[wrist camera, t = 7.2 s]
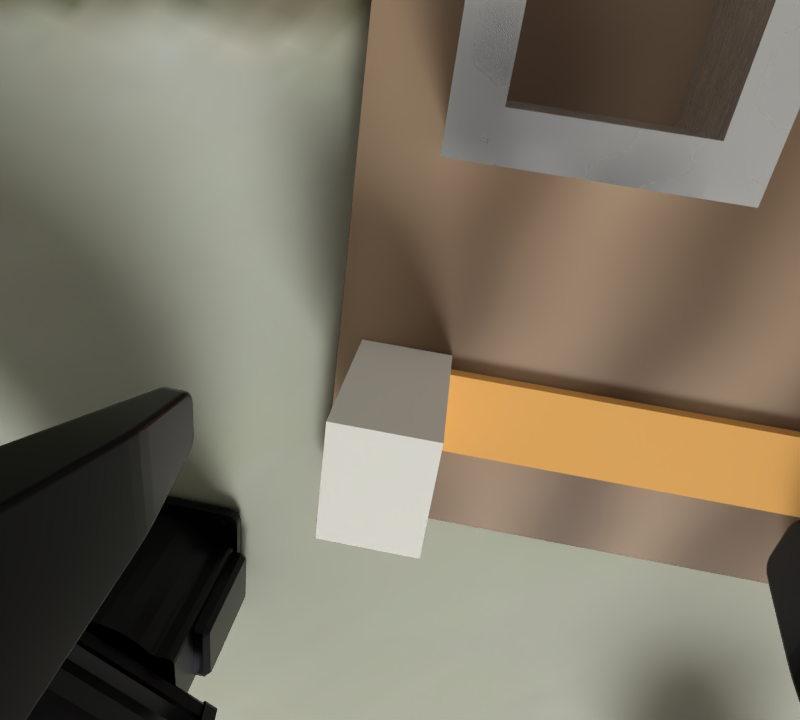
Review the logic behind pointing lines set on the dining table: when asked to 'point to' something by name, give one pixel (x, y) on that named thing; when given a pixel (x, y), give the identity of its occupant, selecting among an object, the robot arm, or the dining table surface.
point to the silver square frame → (632, 139)
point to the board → (574, 271)
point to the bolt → (521, 445)
